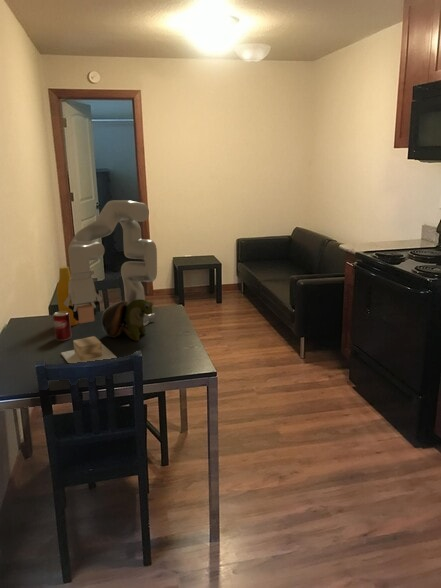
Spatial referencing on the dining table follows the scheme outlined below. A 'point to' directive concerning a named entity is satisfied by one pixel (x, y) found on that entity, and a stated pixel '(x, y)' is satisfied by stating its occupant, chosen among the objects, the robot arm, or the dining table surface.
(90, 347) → the maple block
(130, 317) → the brown green figure
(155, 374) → the dining table surface
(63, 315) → the soda can
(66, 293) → the beer bottle
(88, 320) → the pink cube
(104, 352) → the plate
